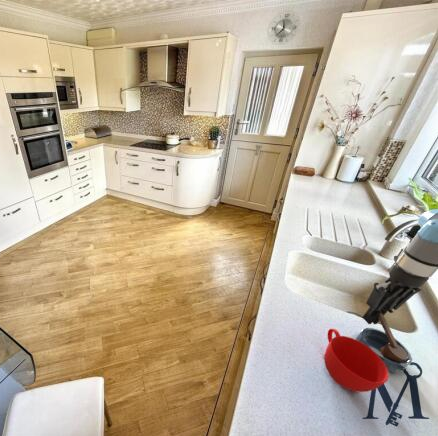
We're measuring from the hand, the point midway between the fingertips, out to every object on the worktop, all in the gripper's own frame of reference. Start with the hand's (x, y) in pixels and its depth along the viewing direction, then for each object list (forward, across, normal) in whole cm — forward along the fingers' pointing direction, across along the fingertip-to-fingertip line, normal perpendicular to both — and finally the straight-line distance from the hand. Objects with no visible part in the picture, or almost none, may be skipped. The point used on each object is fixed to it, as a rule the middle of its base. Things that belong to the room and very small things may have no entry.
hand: (369, 320), depth 80 cm
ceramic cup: (+6, +18, +13) cm, 23 cm away
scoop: (+3, 0, +4) cm, 5 cm away
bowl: (+6, 0, +8) cm, 10 cm away
